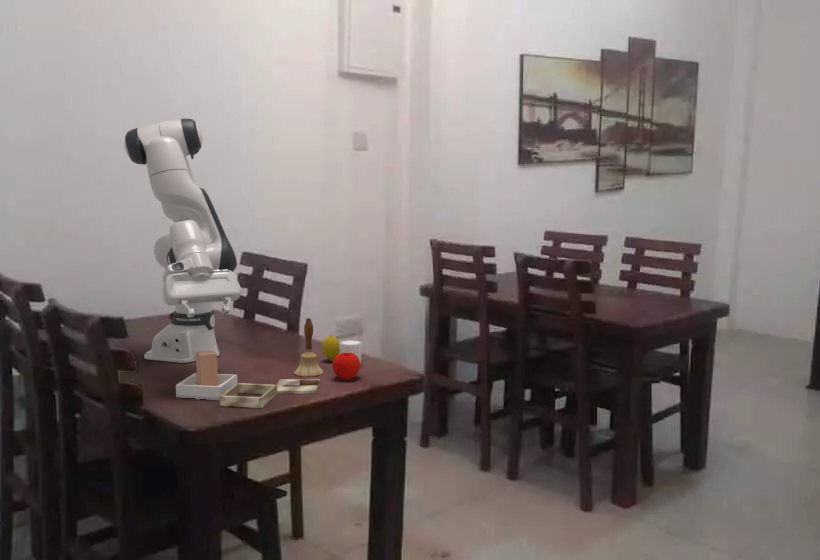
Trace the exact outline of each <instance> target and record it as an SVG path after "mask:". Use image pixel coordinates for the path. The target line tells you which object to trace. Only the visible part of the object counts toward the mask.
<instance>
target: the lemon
mask: <svg viewBox="0 0 820 560" xmlns="http://www.w3.org/2000/svg"><path fill="white" fill-rule="evenodd" d="M339 342H340V341H339V339H338V338H337V337H336V336H333V335H332V334H330V335H328V336H325V338H324V340H322V344H321V352H322V355H323V357H324V358H326V359H327V360H329V361H330V362H333V360H334V358H335V357H336V356H337V355H338V354H340V348H339Z"/></svg>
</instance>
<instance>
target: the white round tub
mask: <svg viewBox="0 0 820 560" xmlns="http://www.w3.org/2000/svg"><path fill="white" fill-rule="evenodd" d="M339 348H340V353H353V354H355V355H356V356H357V357H358V358H359V360H360V366H361V365H362V351H363V342H362V341H361V340H355V339H350V340H348V339H347V340H346V339H345V340H342V341H339ZM340 353H339V354H340Z"/></svg>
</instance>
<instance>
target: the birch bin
mask: <svg viewBox="0 0 820 560" xmlns="http://www.w3.org/2000/svg"><path fill="white" fill-rule="evenodd" d="M238 393H239V394H243V393H246V395H248V394H249V395H260V396H237V395H239V394H238ZM277 395H278V394H277V384H267V383H266V384H265V383H264V384H263V383H245V382H244V383H243V382H241V383H240V382H239V383H238V382H237V383H236V384H235V385H234V386H232V387H231V388H230V389H228V390H227V391H226V392H225V393H223V394H222V395H221V396H220V400H219V406H220V407H229V406H234V408H252V409H263V408H264V407H265V406H266V405H268V403H270V402H271V400H273V398H275V397H276V396H277Z"/></svg>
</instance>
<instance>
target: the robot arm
mask: <svg viewBox="0 0 820 560" xmlns="http://www.w3.org/2000/svg"><path fill="white" fill-rule="evenodd" d="M202 144H203V133H202V130H201V128H200V126H199V125H198V124H197V122H196V121H195V119H193V118H181V119H172V120H164V121H159V122H156V123H153V124H149V125H146V126H142V127H139V128H138V127H135V128H133V129H130V130H128V131H127V133H126V134H125V136H124V150H125V154H126V155H127V156H128V158H129V159H130V161H131V162H132V163H135V164H136V165H144V166H146V167H147V168H146V169H147V174H148V179H149V184H150V187H151V190H152V192H153V195H154V197H155V198H156V199H157V201H159V202H160V204H161V206H162V211H163V214H164V215H165V217H167V218H168V219H169V220H171V221H173V223H172V224H171V225H170V226H169V233H166V234H165V235H163V236H161V237H159V238H158V239H157V240H156V241H155V243H154V247H153V255H154V258H155V260H156V263H157V264H158V265H159V266H161V267H162V269H163V268H164V272H163V274H162V283H163V285H162V289H161V290H162V298H163V301H164V304H166V305H167V306H174V307H175V308H174V309H175V310H174V311H173V312H171V313H170V314H168V315H167V320H170V323H169V324H167V325H166V326H165V327H164V328H163V329H161V330H160V331H159V332H158V333H157V334H156V335H155V336H154V337H153V339H152V342H151V349H150V350H148V351H146V352H145V353H144V356H143V357H144V359H145V360H148V361H149V360H150V361H151V360H152V361H161V362H169V363H181V364H185V363H187V364H188V363H191V362H196V352H199V351H207V350H213V351H214V352H216V353H217V357H218V356H220V354H221V353H220V351H219V347H218V344H217V339H216V334H215V324H216V323H215V322H216V319H215V309H213V303H220V302H221V303H223V304H224V305H223V306H222V308H221V312H222V315H224V316H225V315H230V312H231V309H230V308H231V307H230V304H231V302H232V301H237V300H238V299H239V298H240V297H241V295H242V292H243V291H242V290H243V289H242V287H241V285H240V282H239V281H238V278H237V275H236V272H235V270H236V268H237V265H238V261H237V260H238V257H237V255H236V252H235V250H234V247H233V246H232V244H231V242H230V241H229V238H228V237H227V234H226V233H225V230H224V228H223V226H222V223H221V221H220V218H219V216H218V213H217V211H216V208H215V207H214V204H213V202H212V200H211V198H210V197H209V195H208V192H207V191H206V190H205V189H204V188H202V187H199V186H198V185H197V184H196V183H195V177H194V173H193V171H192V168H191V165H190V163H189V161H188V158H187V156H189V155H190V158H191V160H193V159H194V157H195V155H197V154H198V153H199V152H200V150H201V148H202Z"/></svg>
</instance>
